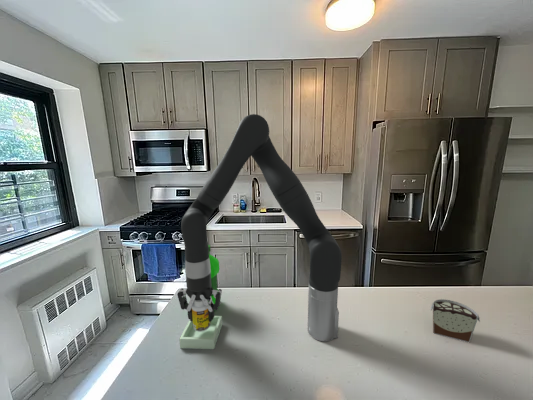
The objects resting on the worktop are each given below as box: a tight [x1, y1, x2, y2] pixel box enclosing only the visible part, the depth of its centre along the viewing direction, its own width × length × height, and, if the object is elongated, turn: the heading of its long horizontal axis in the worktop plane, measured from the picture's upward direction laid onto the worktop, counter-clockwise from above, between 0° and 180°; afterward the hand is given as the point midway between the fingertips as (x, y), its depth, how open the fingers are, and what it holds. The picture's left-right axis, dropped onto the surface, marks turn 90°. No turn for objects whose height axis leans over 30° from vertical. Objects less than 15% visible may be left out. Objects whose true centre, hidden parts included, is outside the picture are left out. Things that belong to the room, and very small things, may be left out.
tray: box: [179, 315, 223, 350], centre depth 75 cm, size 11×11×3 cm
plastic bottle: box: [208, 244, 220, 304], centre depth 88 cm, size 10×10×25 cm
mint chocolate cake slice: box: [429, 298, 481, 344], centre depth 75 cm, size 12×6×10 cm, turn 65°
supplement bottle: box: [192, 300, 211, 332], centre depth 74 cm, size 6×6×10 cm
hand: (201, 319), depth 74 cm, fingers closed on supplement bottle, 5 cm apart
